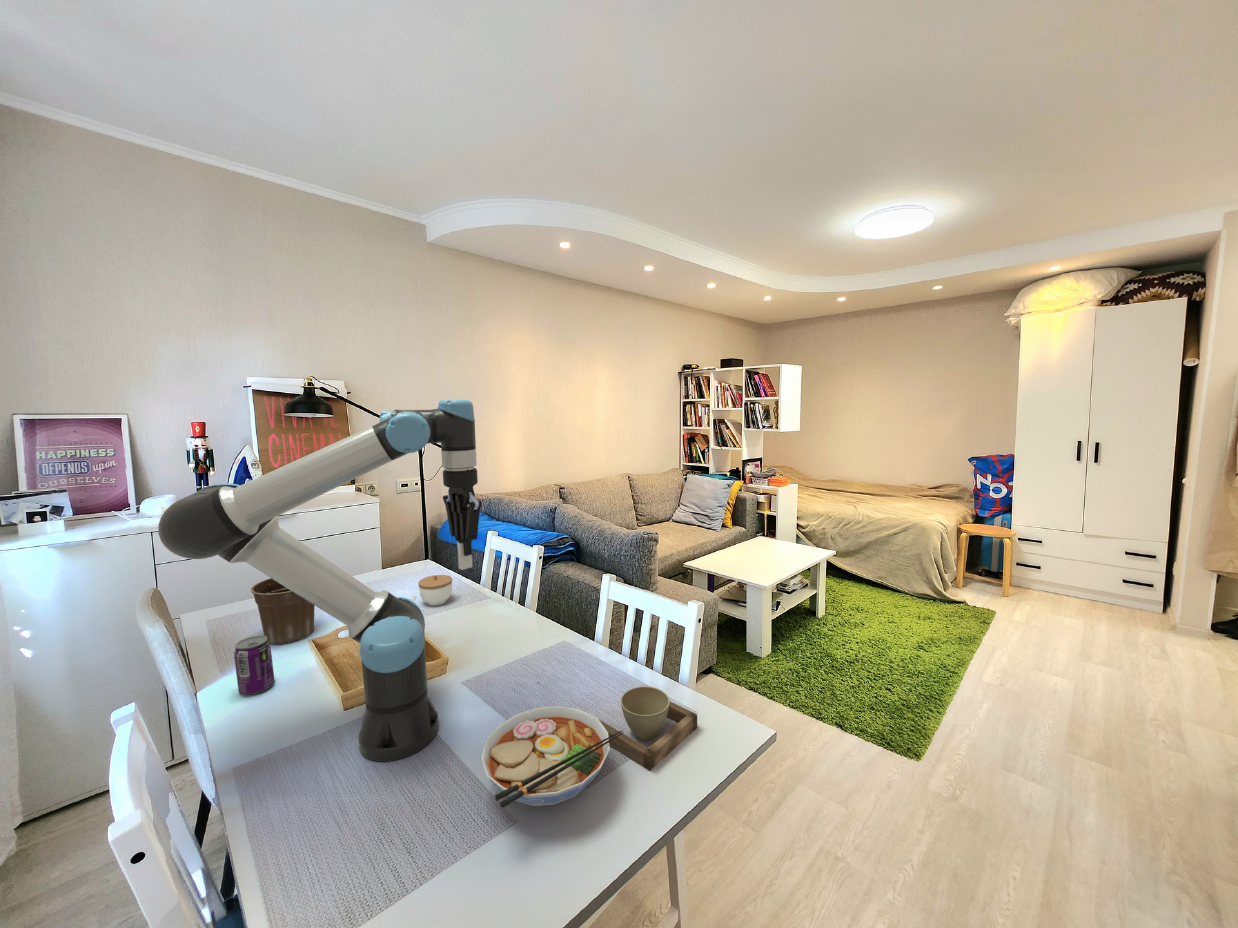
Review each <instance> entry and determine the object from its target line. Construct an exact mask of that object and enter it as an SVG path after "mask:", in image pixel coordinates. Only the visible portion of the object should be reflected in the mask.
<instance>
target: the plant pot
mask: <svg viewBox="0 0 1238 928" xmlns="http://www.w3.org/2000/svg"><path fill="white" fill-rule="evenodd" d="M250 592H251V593H252V594H253V597H254V601H255V604H256V606H257V609H258V613H259V617H260V621H261V628H262V632H263V636H266V637H267V641H268V642H269V643H270V645H286V644H289V643H290V642H298V641H301V640H303V639H305V638H307V637H309V636H311V635H312V634H313V633H314V632H315V605H313V604H312V603H310V602H308V601H307V600H305V599H304V598H302V597H300V596H299V595H297V594H296V593H294V592H293V591H291V590H289V589H288V588H286V587H285V586H283V585H281V584H280V583H278V582H277V581H275V580H273V579H272V578H270V577H269V578H267V579H265V580H262V581H259V582H257V583H256V584H253V586H252V587H251V588H250Z"/></svg>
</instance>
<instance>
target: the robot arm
mask: <svg viewBox="0 0 1238 928" xmlns="http://www.w3.org/2000/svg"><path fill="white" fill-rule="evenodd" d="M428 444H440V446H441V447H440V452H441V453H440V454H441V467H442V468H443V469H444V470H442V481H443V482H442V483H443V486H444V487H446V488H448V492H447V494H446V495H443V496H442V500H443V502H444V505H445V511H446V516H447V521H448V527H449V533H450V536H451V537H454V539H455V540H454V541H456V543H457V544H456V545H457V547H456V549H457V562H458V569H459V570H462V571H463V570H467V569H471V568H473V555H472V554H473V551H472V550H473V548H472V547H473V546H472V542H473V541H475V540H477V539H478V534H479V522H480V511H481V507H482V504H483V502H482V500H477V499H476V498H475V497H476V493H475V490H474V486H475V485H478V482H479V481H478V479H479V478H478V469H477V468H476V466H477V465H478V464H477V447H476V446H477V445H476V419H475V412H474V404H473V402H472V401H470V400H469V399H447V400H445V399H444V400H443V399H442V400H439V401H438V406H437V408H433V409H392V410H391V409H390V410H383V411H381V412H380V414H379V422H378V423H376V424H374V425H372V426H370V427H369V426H368V427H367V428H364V429H362V430H360V431H358V432H356V433H353V434H351V435H350V436H348V437H345V438H342V439H340V440H338V441H336V442H334V443H332V444H331V443H330V444H329V445H327V446H325V447H323V448H320V449H319V450H316V451H314V452H312V453H309V454H307V455H304V456H303V457H300V458H298V459H297V460H294V461H291V462H290V463H287V464H285V465H283V466H281V467H279V468H276V469H274V470H272V471H269V472H267V473H265V474H263V475H261V476H259V477H257V478H255V479H252V480H249V481H247V482H245V483H243V484H236V483H219V484H213V485H211V484H210V485H208V486H205V487H202V488H200V489H199V490H197V491H196V492H194V493H192V494H190V495H188V496H185V497H183V498H180V499H179V500H176V501H174V502H173V503H172V504H171V505H170V506H169V507H167V508H166V509H165V511H164V512H163V513H162V515H161V516H160V519H159V522H158V528H157V529H158V530H157V533H158V536H159V539H160V541H161V543H162V544H163V545H162V546H164V547H165V548H166V549H167V550H168V551H169V552H171V553H172V554H174V555H176V556H178V557H181V558H185V559H192V560H205V559H208V558H213V557H215V556H218V557H220V558H222V559H223V560H225V561H226V562H228V563H229V564H235V563H242V562H243V563H246V564H248V565H250V566H251V567H252V568H254V569H256V570H258V571H259V572H261V573H262V574H263V575H265V576H267V577H269V579H270V578H272V579H273V580H275V581H277V582H278V583H280V584H281V585H283V586H285V587H286V588H288V589H289V590H291V591H293V592H294V593H296V594H297V595H299V596H300V597H302V598H304V599H305V600H307V601H308V602H310V603H312V604H313V605H314V607H316V608H318V609H319V610H322V611H323V612H324V613H326V614H328V615H330V617H332V618H333V619H335V620H337V621H339V622H341V623H342V624H343V625H345V626H347V628H348V631H347V632H348V637H349V638H351V639H352V640H354V641H355V642H357V643H359V644H360V645H359V657H360V659H361V667H362V668H361V669H362V680H363V692H364V693H363V694H364V701H365V702H364V703H365V711H364V713H363V714H364V715H363V718H362V722H361V726H360V728H359V732H358V746H359V748H358V749H359V752H360V754H361V755H362V756H363V757H365V758H367V759H368V760H370V761H371V760H372V761H375V762H376V761H377V762H390V761H397V760H400V759H403V758H406V757H410V756H412V755H414V754H416V753H418V752H419V751H422V749H425V748H426V747H427V746H428V745H430V744H431V742H433V740H435V738H436V736H437V735H438V732H439V731H440V730H439V729H440V721H439V720H440V718H439V714H438V711H437V709H436V707H435V705H434V702H433V701H432V699H431V696H430V694H429V692H428V678H427V677H428V676H427V662H426V647H425V645H426V636H425V629H426V620H425V617H424V614H423V612H422V609H421V608H420V607H419V605H418V604H417V603H416V602H414V601H413V600H412V599H410V598H408V597H404V596H398V597H397V596H395V595H394V594H392V593H390V592H389V591H388V590H382V591H375V590H373V589H372V588H370V587H368V585H366V584H364V583H363V582H361V581H360V580H358V579H357V578H355V577H354V576H352V575H351V574H349V573H348V572H346V571H345V570H343V569H342V568H340V567H339V566H338V565H335V563H333V562H332V561H330V560H329V559H327V558H326V557H324V556H322V555H321V554H320V553H318V552H316V551H315V550H313V549H312V548H310V546H307V545H306V544H304V543H303V542H302V541H300V540H298V538H296V537H294V536H293V535H292V534H289V532H287V531H285V530H284V529H282V528H281V527H280V525H279V517H278V516H281V515H283V514H285V513H286V512H288V511H291V510H293V509H295V508H297V507H300V506H301V505H303V504H306V503H308V502H310V501H311V500H314V499H316V498H317V497H321V496H322V495H324V494H326V493H328V492H330V491H333V490H334V489H336V488H338V487H340V486H343V485H345V484H346V483H350V482H351V481H353V480H355V479H358V478H359V477H361V476H364V475H365V474H367V473H369V472H372V471H373V470H376V469H378V468H380V467H382V466H384V465H387V464H388V463H390V462H392V461H395V460H397V459H399V458H401V457H403V456H406V455H408V454H413V453H417V452H418V451H420V450H422V449H423V448H425V447H426V445H428Z"/></svg>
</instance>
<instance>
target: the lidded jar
mask: <svg viewBox="0 0 1238 928" xmlns="http://www.w3.org/2000/svg"><path fill="white" fill-rule="evenodd" d="M417 585H418V591H419V595H420V597H421V599H422V601H423V602H424V603H426V604H427V605H428V606H430V607H434V606H437V607H438V606H441V605H443V604H446V602H447V601H448V599H449V598H450V596H451V594H452V593H453V592H452V591H453V577H452V576H451V575H448V574H435V575H429V576H426V577H423V578H421V579H420V580H418V584H417Z"/></svg>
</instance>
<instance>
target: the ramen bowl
mask: <svg viewBox="0 0 1238 928" xmlns="http://www.w3.org/2000/svg"><path fill="white" fill-rule="evenodd" d="M599 720H600V719H599V718H597V717H595V716H594V715H592V714H590V713H588V712H586V711H585V710H582V709H579V708H575V707H571V706H570V707H568V706H565V705H564V706H563V705H555V706H553V705H552V706H551V705H550V706H539V707H536V708H532V709H529V710H525V711H522V712H518V713H516V714H514V715H513V716H511V717H510V718H508V719H506V720H505V721H503V722H502V723H500V724H499V725H497V727H495V729H493V731H492V732H491V734H489V736H488V737H487V738H486V739H485V741H484V744H483V748H482V752H481V755H480V761H481V764H482V766H483V769H484V772H485V775H486V777H487V779H488V780H489V781H490V783H491V784H492V785H494V786H495V787H496V788H497V789H498V790H500V791H501V792H499V793H497V794H495V795H494V799H495V801H496V802H498V801H500V800H502V799H503V798H505V797H507V798H506V799H504V800H502V801H500V802H499V806H500V808H501V809H504V808H505V807H507V806H508V805H510V804H512V803H513V802H517V803H521V804H525V805H529V806H533V807H538V806H549V805H550V806H551V805H556V804H559V803H561V802H564V801H567V800H569V799H571V798H574V797H576V796H577V795H578V794H579V793H580V792H582V791H583V790H584V788H586V787H588V785H589V784H590V783H591V782H593V781H594V780H595V778H596V777H597V776H598V775H599V773H600V772H601V769H602V766H603V765H604V762H605V761H606V759H607V756H608V754H609V753H610V750H611V747H610V744H609V742H610V741H612V740H613V739H615V738H617V737H618V736H620V735H621V734H625V733H624V731H623V730H619V731H620V732H621V734H619V735H617V734H618V733H620V732H618V733H616V734H614V735H612V736H610V737H609V735H608V732H607V730H606V729H605V727H604V726H603V725H602V723H601V722H600V721H599ZM615 735H617V736H616V737H614V738H612V739H610V740H609V738H611V737H613V736H615Z"/></svg>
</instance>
